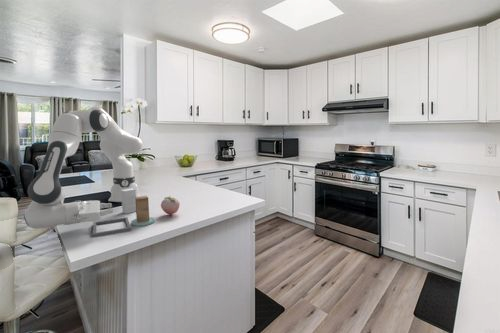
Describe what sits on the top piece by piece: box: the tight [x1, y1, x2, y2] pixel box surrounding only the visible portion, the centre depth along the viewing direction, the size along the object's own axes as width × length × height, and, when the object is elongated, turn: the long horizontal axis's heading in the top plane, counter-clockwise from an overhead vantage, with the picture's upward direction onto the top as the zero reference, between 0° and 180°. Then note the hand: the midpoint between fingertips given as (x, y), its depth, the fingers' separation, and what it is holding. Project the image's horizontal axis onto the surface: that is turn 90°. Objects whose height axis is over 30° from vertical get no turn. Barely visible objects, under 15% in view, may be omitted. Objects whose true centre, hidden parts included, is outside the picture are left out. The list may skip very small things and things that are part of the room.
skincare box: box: [121, 188, 136, 214], centre depth 138 cm, size 6×4×12 cm
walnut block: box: [135, 195, 150, 223], centre depth 122 cm, size 5×5×11 cm
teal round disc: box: [130, 216, 156, 227], centre depth 123 cm, size 10×10×1 cm
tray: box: [92, 216, 132, 238], centre depth 116 cm, size 16×14×1 cm
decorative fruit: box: [160, 196, 181, 216], centre depth 133 cm, size 9×8×10 cm
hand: (112, 207), depth 116 cm, fingers open, 8 cm apart
